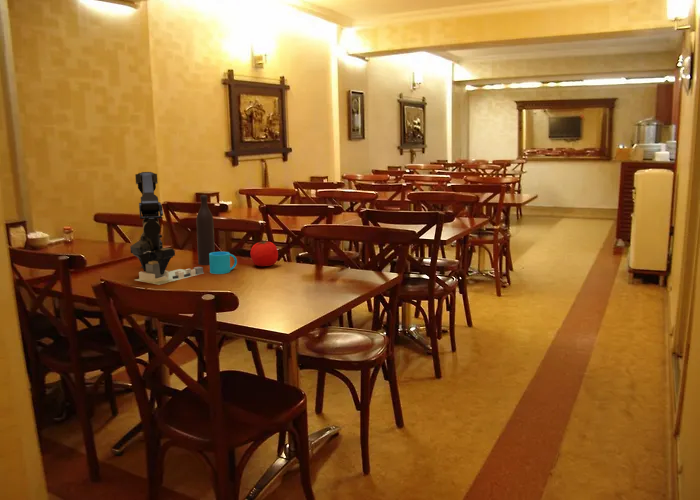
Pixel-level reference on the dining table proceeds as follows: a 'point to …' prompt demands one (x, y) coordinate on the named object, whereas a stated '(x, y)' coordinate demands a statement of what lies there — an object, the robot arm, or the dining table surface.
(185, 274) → the cable
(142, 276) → the holder
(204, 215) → the wine bottle
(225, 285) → the dining table surface
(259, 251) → the tomato
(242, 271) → the dining table surface
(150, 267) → the block
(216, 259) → the mug
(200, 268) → the clamp and clips
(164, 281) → the board
